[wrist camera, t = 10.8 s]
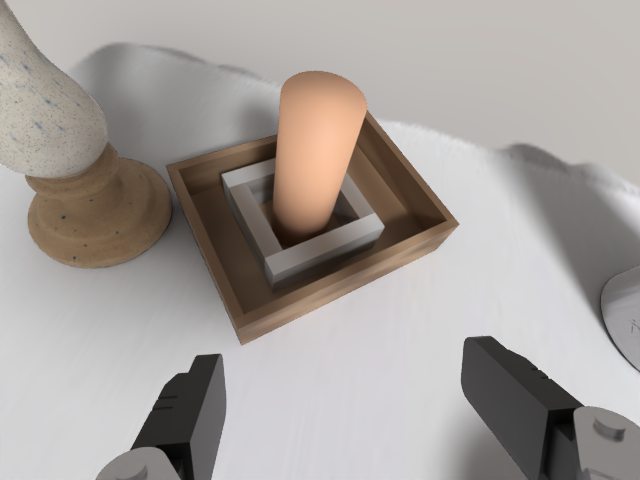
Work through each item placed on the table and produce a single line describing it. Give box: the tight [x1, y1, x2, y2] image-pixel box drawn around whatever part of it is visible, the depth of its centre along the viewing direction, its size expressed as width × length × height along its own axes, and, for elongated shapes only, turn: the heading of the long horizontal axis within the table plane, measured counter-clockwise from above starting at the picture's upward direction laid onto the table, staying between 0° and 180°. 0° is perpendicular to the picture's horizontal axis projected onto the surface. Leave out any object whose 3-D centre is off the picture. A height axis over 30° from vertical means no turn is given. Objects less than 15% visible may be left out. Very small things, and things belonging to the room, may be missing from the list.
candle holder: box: [0, 0, 172, 268], centre depth 16 cm, size 9×9×20 cm
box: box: [166, 110, 459, 346], centre depth 25 cm, size 16×12×4 cm
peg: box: [271, 71, 367, 248], centre depth 20 cm, size 4×4×11 cm
